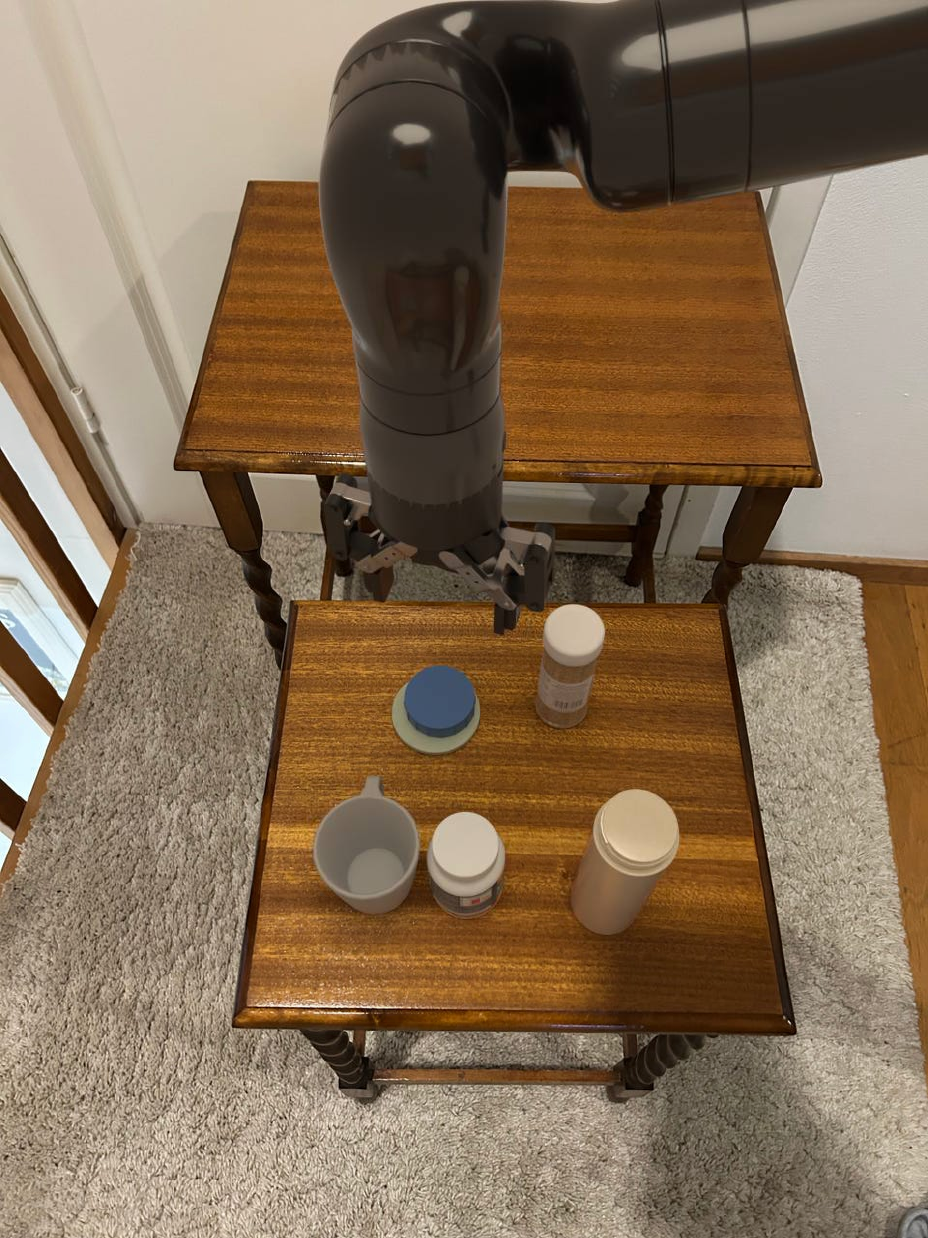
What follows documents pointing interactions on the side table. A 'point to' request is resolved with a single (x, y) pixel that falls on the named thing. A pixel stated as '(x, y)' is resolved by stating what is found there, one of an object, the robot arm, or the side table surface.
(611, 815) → the beige plastic cylinder
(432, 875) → the pill bottle
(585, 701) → the sprinkles bottle
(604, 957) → the side table surface
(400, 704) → the coaster
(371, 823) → the cup
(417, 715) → the lid
